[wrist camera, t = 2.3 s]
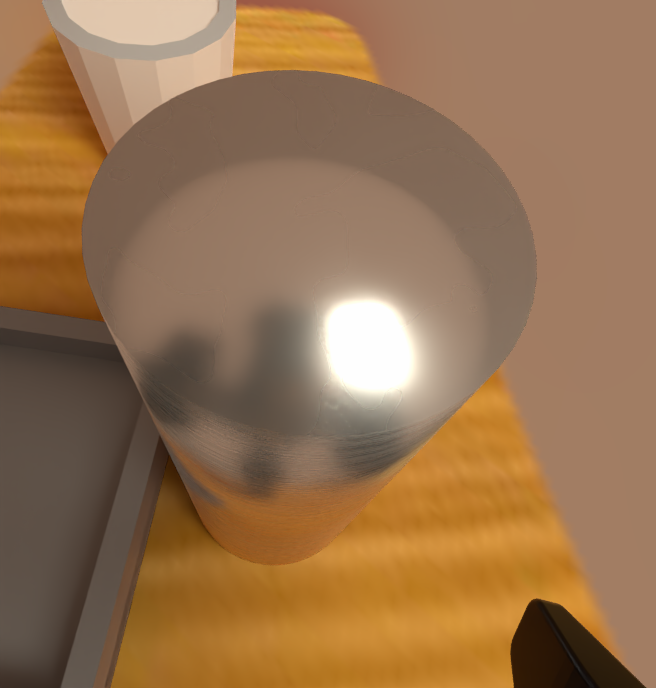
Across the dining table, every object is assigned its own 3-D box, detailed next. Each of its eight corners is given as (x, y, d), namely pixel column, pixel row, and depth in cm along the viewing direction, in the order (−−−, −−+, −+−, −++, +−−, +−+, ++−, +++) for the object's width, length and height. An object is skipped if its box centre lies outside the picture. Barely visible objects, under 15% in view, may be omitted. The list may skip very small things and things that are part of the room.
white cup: (59, 155, 25) (-4, 0, 19) (154, 77, 28) (127, -78, 22) (183, 224, 24) (160, 85, 18) (267, 135, 27) (272, -9, 21)
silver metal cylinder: (349, 575, 18) (556, 472, 6) (175, 553, 18) (3, 392, 5) (362, 413, 21) (522, 108, 9) (212, 391, 21) (151, 40, 8)
